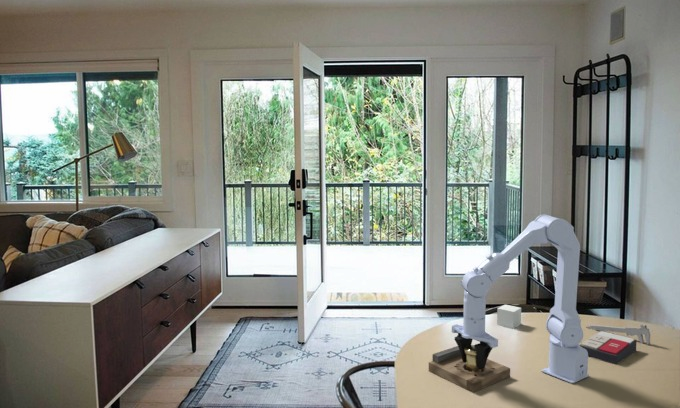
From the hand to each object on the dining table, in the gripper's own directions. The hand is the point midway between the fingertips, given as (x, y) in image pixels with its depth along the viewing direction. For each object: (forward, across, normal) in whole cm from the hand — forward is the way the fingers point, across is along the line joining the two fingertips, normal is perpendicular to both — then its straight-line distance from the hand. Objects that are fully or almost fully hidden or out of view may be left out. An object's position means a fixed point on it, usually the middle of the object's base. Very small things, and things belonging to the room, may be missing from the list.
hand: (473, 364), depth 145 cm
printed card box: (+4, +12, +46) cm, 48 cm away
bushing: (+2, 0, 0) cm, 3 cm away
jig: (+3, -2, 0) cm, 4 cm away
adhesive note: (+4, -21, +42) cm, 47 cm away
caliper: (+4, +7, +61) cm, 62 cm away
